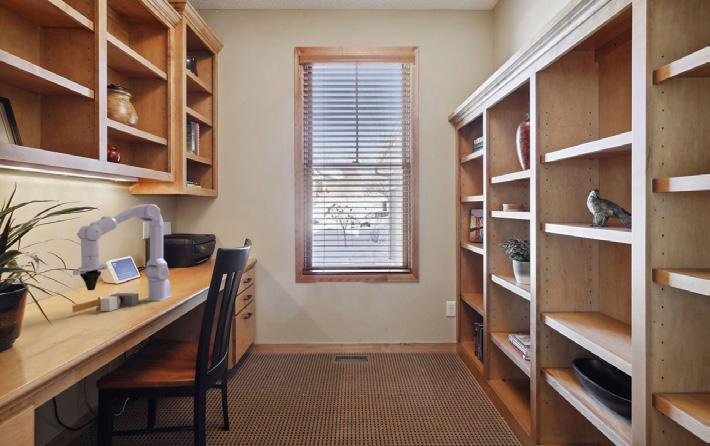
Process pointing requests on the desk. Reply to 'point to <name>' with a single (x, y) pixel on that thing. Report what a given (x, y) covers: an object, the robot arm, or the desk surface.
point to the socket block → (126, 299)
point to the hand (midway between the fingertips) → (91, 290)
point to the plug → (110, 303)
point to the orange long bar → (86, 305)
